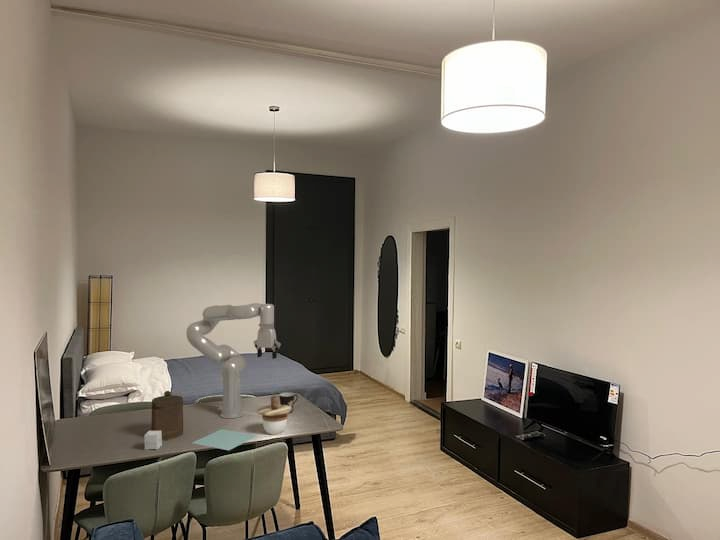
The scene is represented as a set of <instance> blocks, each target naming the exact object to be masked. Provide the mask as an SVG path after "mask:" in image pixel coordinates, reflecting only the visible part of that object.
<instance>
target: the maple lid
mask: <svg viewBox="0 0 720 540" xmlns="http://www.w3.org/2000/svg"><path fill="white" fill-rule="evenodd" d="M291 411H292V407H291V406H288V405H280V404H279V396H276V395H275V396H274V395H273V396H271V397H270V405H265V406H262V407H259V408H258V409H257V414H259V415H260V416H263V415H265V416H276V415H283V414H287V415H288V414H290V413H289V412H291ZM292 412H293V411H292Z"/></svg>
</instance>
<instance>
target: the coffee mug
mask: <svg viewBox="0 0 720 540" xmlns="http://www.w3.org/2000/svg"><path fill="white" fill-rule="evenodd" d="M278 395H279V396H278V398H279V405H288V406H291V407H292V411H291V412H289V413H288V414H292V413H293V411H294V404H295V403H296V402H297V401H298V395H297V394H295V393H294V392H289V391H287V392H282V393H279V394H278ZM295 396H296V399H295ZM294 400H295V401H294Z"/></svg>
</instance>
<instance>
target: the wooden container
mask: <svg viewBox="0 0 720 540" xmlns="http://www.w3.org/2000/svg"><path fill="white" fill-rule="evenodd" d="M151 431H162V441H167V440H166V439H170V440H172V439H177V438H179V437H181V436H183V435H184V397H183V396H181V395H177V394H176V395H175V394H174V395H172V391H170V390H166V391H164V393H163V395H161V396H160V395H159V396H157V397H154V398H153V399H152V400H151Z"/></svg>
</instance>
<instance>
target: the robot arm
mask: <svg viewBox="0 0 720 540" xmlns="http://www.w3.org/2000/svg"><path fill="white" fill-rule="evenodd" d="M256 317H259V324H258V327H259V329H258V331H257V338H256V340H253V345H254V347H255V349H256V350H257V351H256V352H257V353H256V354H257V358H261V357H262V356H263V349H262V348H265V349H271V350H272V353H271V357H272V359H273V360H275V359H277V357H278V350H279V349H280V347H281V345H282V343H281V342H279V341H278V340H277V333H276V329H275V305H274V304H272V303H260V302H259V303H258V302H254V303H249V304H242V305H232V304H223V305H219V304H218V305H211V306H207V307H205V308H204V309H203V311H202V318H203V319H202V320H198V321H195V322H192V323H190V324H189V325H188V327H187V328H186V332H185V333H186V339H187V341H188V342H189V344H190V345H191V346H192V347H193V348H195V349H196V350H197V351H198V352H199V353H201V354H202V355H203V356H204V357H206V358H207V359H208V360H210V361H209V362H211V363H213V364H215V365H218V364H222V363H223V364H222V366H221V375H222V405H219V406H218V408H217V409H218V411H221V412H220V414H219V416H220V417H221V418H224V419H237V418H239V417H240V418H241V417H242V416H244V411H243V410H241V409H242V408H241V407H242V406H241V404H242V401H241V397H242V396H241V395H242V394H241V393H242V392H241V390H242V389H241V387H242V386H241V378H240V374H241V373H243V372H244V371H245V370H246V368H247V360H246V358H245V357H244V356H243V355H241V354H240V353H239V352H237V351H236V350H235V349H234V348H232V347H231V346H229V345H227V344H220V345H217V344H216V343H214V342H213V341H212V340H211V339H210V338H208V337H205V336H206V335H208V334H210V333H211V332H212V331H213V330H214V329H215V328H216V326H217V325H218V324H219V323H220V322H222V321H236V320H247V319H253V318H256Z"/></svg>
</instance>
